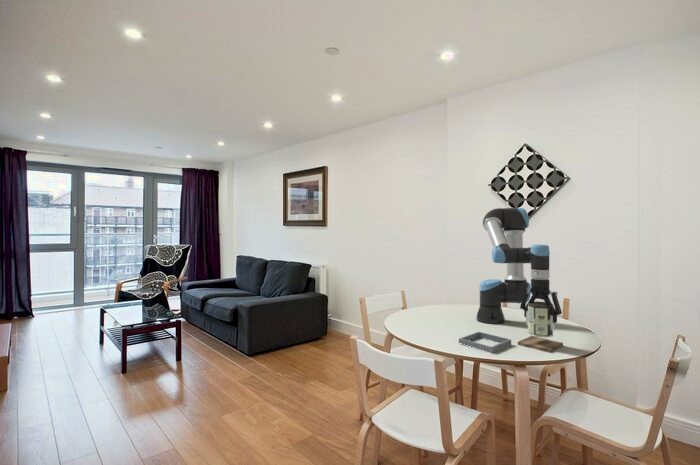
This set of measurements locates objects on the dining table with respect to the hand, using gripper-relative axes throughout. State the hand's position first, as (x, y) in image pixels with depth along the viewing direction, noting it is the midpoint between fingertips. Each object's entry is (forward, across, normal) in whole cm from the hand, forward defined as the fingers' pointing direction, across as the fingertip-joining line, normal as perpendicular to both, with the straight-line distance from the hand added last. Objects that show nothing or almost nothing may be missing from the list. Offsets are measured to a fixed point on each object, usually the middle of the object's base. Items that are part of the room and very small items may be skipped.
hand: (540, 327), depth 166 cm
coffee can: (+3, 0, 0) cm, 3 cm away
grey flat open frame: (+8, -17, -18) cm, 26 cm away
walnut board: (+8, 0, 0) cm, 8 cm away
